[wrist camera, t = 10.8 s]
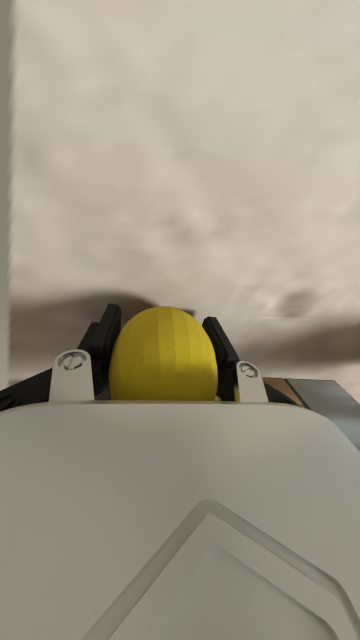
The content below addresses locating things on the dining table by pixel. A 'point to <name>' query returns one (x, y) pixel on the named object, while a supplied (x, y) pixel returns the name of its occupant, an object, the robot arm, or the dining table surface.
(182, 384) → the lemon
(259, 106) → the dining table surface
